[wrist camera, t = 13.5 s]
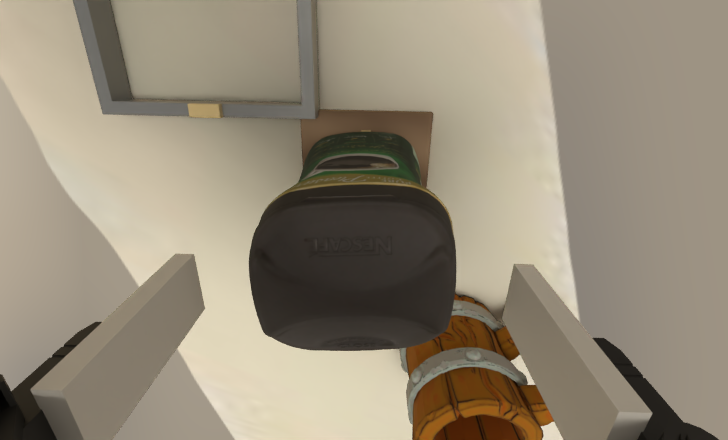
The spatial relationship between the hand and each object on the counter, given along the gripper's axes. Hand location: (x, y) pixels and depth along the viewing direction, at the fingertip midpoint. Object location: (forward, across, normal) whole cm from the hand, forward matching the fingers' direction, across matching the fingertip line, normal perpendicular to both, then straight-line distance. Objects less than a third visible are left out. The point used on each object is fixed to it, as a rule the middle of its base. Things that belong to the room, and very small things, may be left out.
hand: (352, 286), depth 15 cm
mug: (+18, +12, -17) cm, 28 cm away
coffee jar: (+18, 0, 0) cm, 18 cm away
